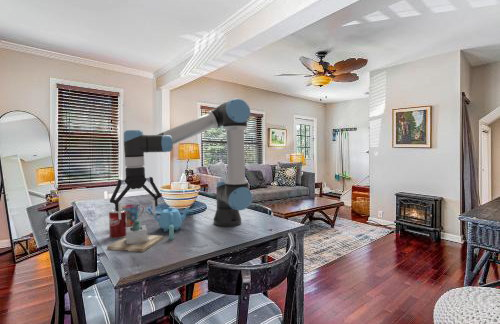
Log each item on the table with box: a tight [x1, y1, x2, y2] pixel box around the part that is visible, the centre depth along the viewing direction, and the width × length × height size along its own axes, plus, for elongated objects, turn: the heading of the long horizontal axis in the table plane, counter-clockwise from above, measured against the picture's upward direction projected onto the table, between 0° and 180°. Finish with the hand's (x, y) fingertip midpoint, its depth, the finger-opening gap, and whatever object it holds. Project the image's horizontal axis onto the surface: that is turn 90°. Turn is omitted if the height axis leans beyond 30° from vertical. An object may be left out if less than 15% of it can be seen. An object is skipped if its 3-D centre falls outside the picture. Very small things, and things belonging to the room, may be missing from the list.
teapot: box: [152, 206, 190, 232], centre depth 137 cm, size 13×14×11 cm
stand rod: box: [168, 225, 175, 241], centre depth 121 cm, size 2×2×6 cm
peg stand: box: [107, 219, 164, 253], centre depth 115 cm, size 16×16×10 cm
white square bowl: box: [125, 224, 148, 244], centre depth 115 cm, size 8×8×5 cm
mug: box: [121, 203, 145, 227], centre depth 143 cm, size 12×9×11 cm
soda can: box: [108, 208, 127, 240], centre depth 125 cm, size 7×7×12 cm
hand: (137, 216), depth 115 cm, fingers open, 13 cm apart
